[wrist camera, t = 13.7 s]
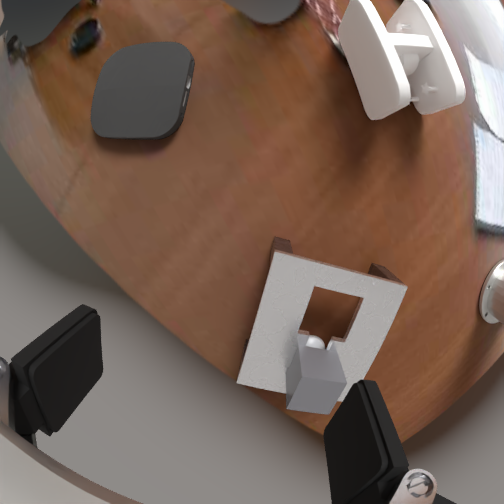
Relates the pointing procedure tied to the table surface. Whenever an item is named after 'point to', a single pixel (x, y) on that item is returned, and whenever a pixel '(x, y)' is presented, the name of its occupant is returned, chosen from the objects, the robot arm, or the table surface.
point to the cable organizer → (399, 59)
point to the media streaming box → (143, 91)
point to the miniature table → (293, 309)
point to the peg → (314, 378)
